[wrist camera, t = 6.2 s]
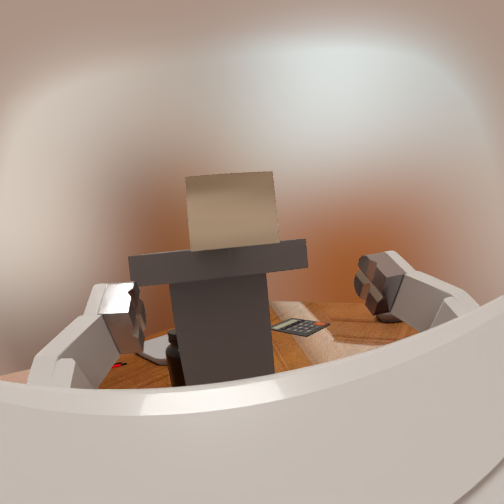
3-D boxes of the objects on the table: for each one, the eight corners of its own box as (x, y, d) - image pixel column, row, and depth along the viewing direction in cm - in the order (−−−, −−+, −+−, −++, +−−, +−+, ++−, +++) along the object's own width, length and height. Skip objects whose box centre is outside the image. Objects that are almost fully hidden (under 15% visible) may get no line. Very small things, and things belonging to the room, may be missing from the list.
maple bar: (279, 242, 10) (272, 171, 10) (191, 251, 9) (185, 176, 9) (223, 246, 31) (221, 223, 31) (196, 248, 31) (194, 226, 31)
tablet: (238, 337, 78) (237, 330, 78) (163, 369, 58) (161, 360, 58) (200, 330, 88) (199, 323, 88) (131, 353, 68) (129, 346, 68)
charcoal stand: (312, 493, 20) (305, 238, 19) (196, 513, 18) (128, 256, 17) (277, 427, 34) (261, 242, 33) (193, 440, 32) (158, 252, 31)
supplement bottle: (202, 399, 44) (191, 336, 44) (167, 396, 45) (154, 336, 44) (212, 381, 51) (203, 324, 50) (180, 380, 52) (170, 325, 51)
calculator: (306, 335, 72) (266, 327, 83) (306, 338, 72) (267, 330, 83) (330, 322, 80) (291, 317, 91) (330, 325, 80) (292, 320, 91)
